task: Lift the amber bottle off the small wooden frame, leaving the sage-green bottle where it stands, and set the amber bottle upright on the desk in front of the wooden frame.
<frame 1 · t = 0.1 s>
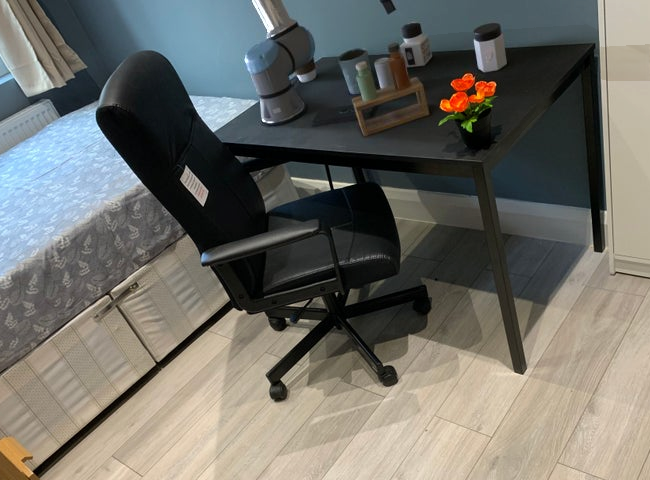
hand: (404, 3, 177), 28 cm above the table, tool tilted 20°, fingers open, 13 cm apart
amber bottle: (403, 86, 181), point 9 cm above the table, touching wooden frame
coffee cup: (308, 79, 238), on the table
wooden frame: (394, 120, 187), on the table
beverage can: (391, 98, 201), on the table
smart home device: (345, 116, 200), on the table
jar: (492, 67, 198), on the table
blue-grey plant pot: (362, 89, 214), on the table
sage bottle: (370, 97, 181), point 9 cm above the table, touching wooden frame
container: (418, 62, 219), on the table
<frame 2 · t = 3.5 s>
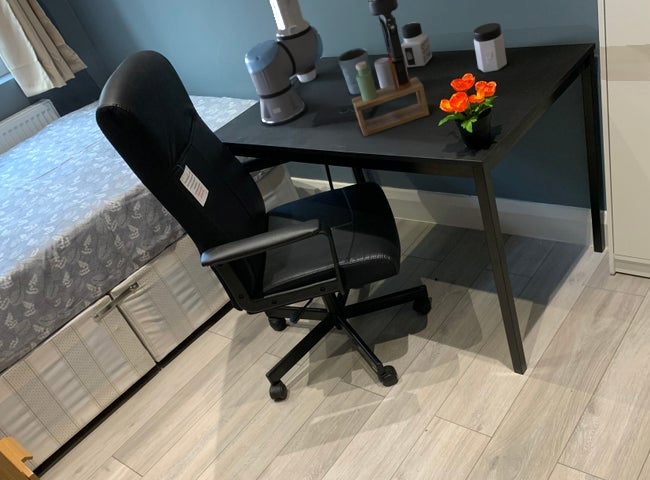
hand: (401, 80, 180), 11 cm above the table, tool pointing down, fingers closed on amber bottle, 5 cm apart
amber bottle: (403, 86, 181), point 9 cm above the table, touching gripper, wooden frame
everything else where it was.
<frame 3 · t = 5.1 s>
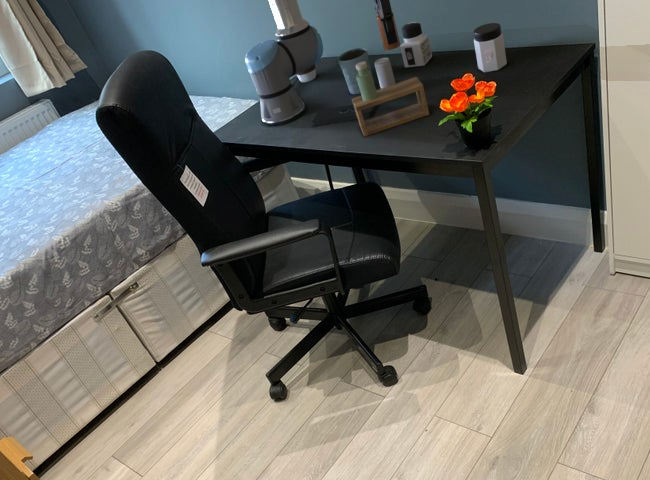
hand: (390, 40, 172), 23 cm above the table, tool pointing down, fingers closed on amber bottle, 5 cm apart
amber bottle: (392, 46, 173), point 21 cm above the table, touching gripper
everything else where it was.
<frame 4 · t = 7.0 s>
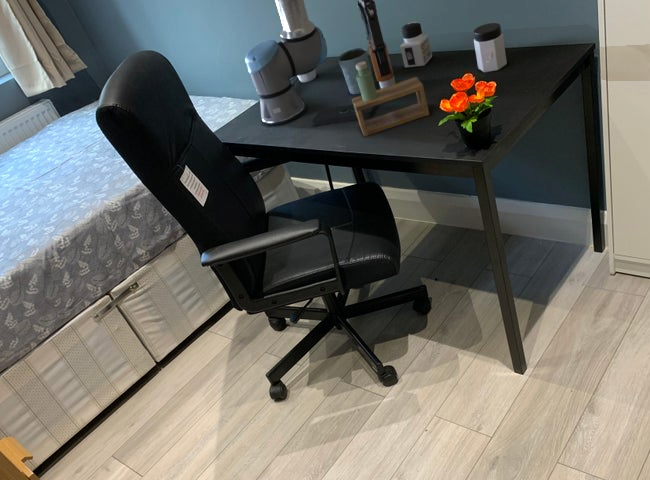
hand: (383, 71, 164), 19 cm above the table, tool pointing down, fingers closed on amber bottle, 5 cm apart
amber bottle: (385, 78, 165), point 18 cm above the table, touching gripper
everything else where it was.
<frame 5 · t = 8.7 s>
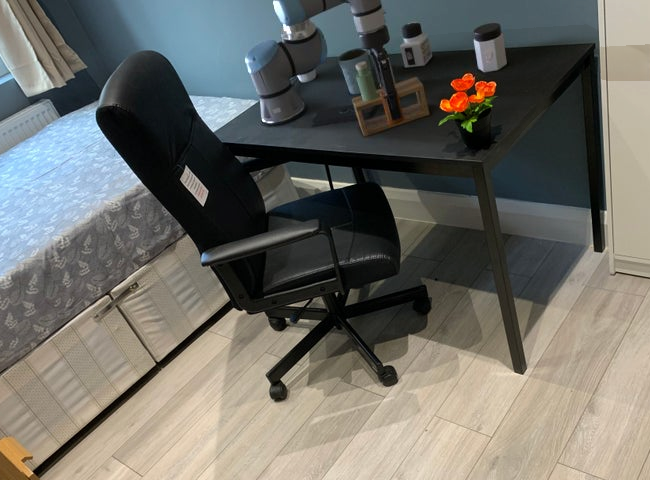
hand: (394, 115, 171), 7 cm above the table, tool pointing down, fingers closed on amber bottle, 5 cm apart
amber bottle: (396, 120, 172), point 6 cm above the table, touching gripper
everything else where it was.
when the fingers open (2 cm above the table, at t = 10.5 s): amber bottle stays where it is, on the table.
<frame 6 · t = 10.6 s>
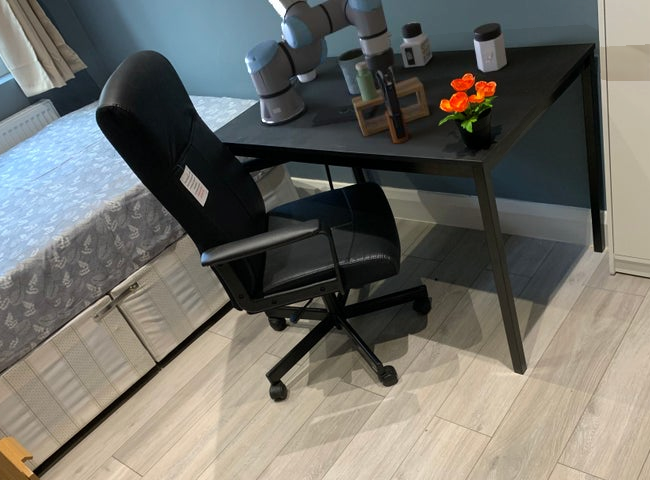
hand: (399, 133, 175), 2 cm above the table, tool pointing down, fingers open, 5 cm apart
amber bottle: (400, 139, 176), on the table
everything else where it was.
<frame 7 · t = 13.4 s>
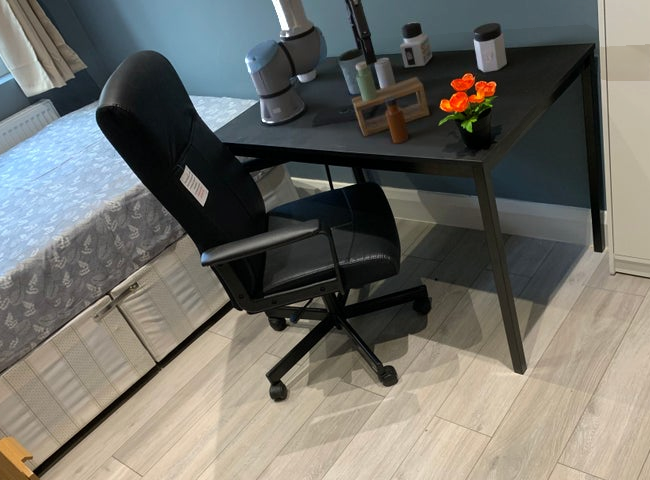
hand: (367, 55, 167), 23 cm above the table, tool pointing down, fingers open, 13 cm apart
nothing on the table moved.
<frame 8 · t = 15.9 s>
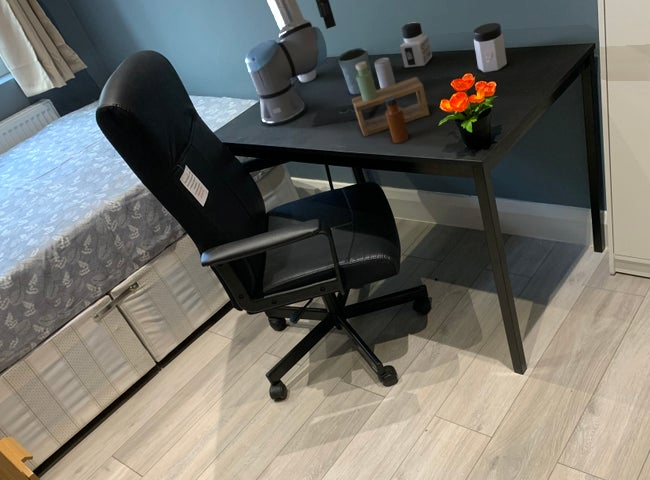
hand: (328, 21, 173), 31 cm above the table, tool pointing down, fingers open, 13 cm apart
nothing on the table moved.
at the end: amber bottle inside the target area (0.0 cm from its centre), on the table; amber bottle tilted 0°; sage bottle inside the target area on the wooden frame (0.0 cm from its centre), point 9.0 cm above the wooden frame's base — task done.
